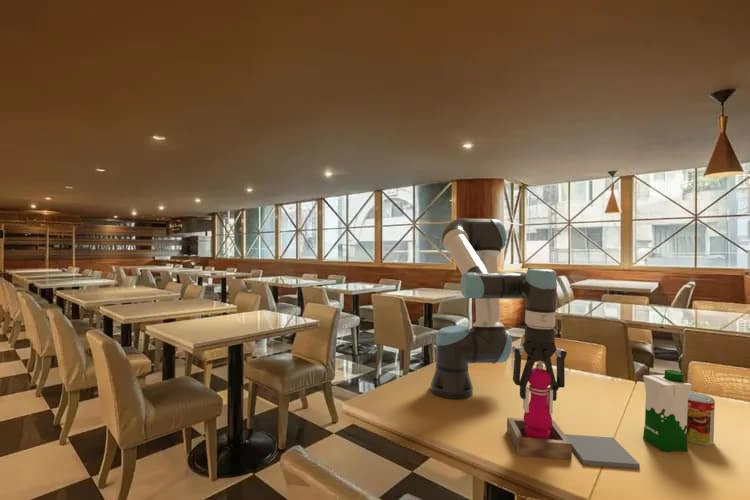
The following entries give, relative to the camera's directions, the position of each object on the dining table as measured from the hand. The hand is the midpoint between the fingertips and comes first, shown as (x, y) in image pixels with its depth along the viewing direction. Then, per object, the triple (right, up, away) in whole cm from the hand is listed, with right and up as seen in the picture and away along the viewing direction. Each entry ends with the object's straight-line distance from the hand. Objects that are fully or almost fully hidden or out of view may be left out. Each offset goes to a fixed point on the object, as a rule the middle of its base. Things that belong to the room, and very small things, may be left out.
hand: (537, 410), depth 105 cm
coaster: (+14, -9, -4) cm, 18 cm away
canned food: (+47, -10, +5) cm, 48 cm away
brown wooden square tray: (0, -9, 0) cm, 9 cm away
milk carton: (+35, -10, +1) cm, 37 cm away
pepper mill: (0, -7, 0) cm, 7 cm away
